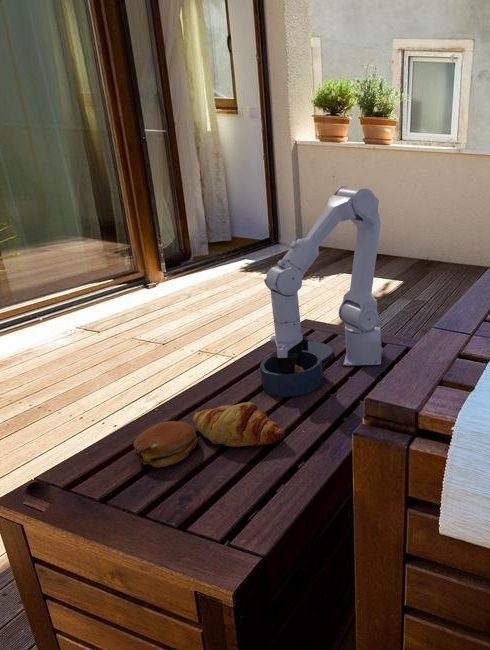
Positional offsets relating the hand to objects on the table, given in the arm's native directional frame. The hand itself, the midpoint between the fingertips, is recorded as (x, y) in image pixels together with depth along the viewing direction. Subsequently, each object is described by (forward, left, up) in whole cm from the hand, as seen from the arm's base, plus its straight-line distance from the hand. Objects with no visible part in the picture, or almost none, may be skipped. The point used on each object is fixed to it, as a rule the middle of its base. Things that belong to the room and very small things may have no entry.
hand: (292, 373), depth 111 cm
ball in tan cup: (0, 0, -2) cm, 2 cm away
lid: (0, -15, -2) cm, 15 cm away
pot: (0, 0, -2) cm, 2 cm away
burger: (+17, +26, -3) cm, 31 cm away
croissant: (+6, +21, -3) cm, 22 cm away
